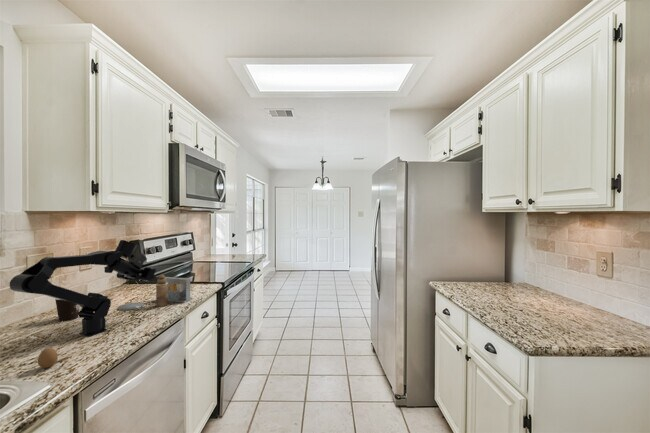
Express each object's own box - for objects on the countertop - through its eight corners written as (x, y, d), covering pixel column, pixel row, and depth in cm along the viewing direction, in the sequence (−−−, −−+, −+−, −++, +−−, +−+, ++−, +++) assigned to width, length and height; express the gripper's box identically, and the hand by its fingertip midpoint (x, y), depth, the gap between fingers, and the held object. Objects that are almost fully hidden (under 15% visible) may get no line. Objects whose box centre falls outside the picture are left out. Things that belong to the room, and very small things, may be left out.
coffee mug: (65, 323, 123) (65, 300, 122) (50, 321, 124) (49, 298, 124) (92, 313, 134) (92, 292, 134) (78, 312, 136) (77, 291, 136)
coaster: (127, 311, 137) (127, 310, 137) (112, 308, 141) (112, 307, 141) (149, 305, 147) (149, 303, 147) (134, 302, 151) (134, 301, 151)
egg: (42, 372, 85) (42, 352, 85) (34, 369, 87) (34, 349, 86) (61, 365, 89) (60, 346, 89) (52, 362, 91) (52, 343, 91)
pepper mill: (161, 307, 143) (160, 276, 143) (153, 306, 145) (153, 275, 145) (170, 304, 148) (170, 274, 147) (163, 303, 150) (163, 273, 150)
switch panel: (184, 302, 150) (184, 280, 150) (159, 300, 154) (159, 278, 154) (192, 299, 156) (192, 277, 156) (168, 297, 160) (168, 276, 160)
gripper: (148, 251, 126) (172, 264, 139) (117, 249, 132) (142, 262, 144) (136, 274, 121) (162, 286, 134) (103, 272, 126) (131, 284, 139)
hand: (149, 279), depth 138 cm, fingers open, 9 cm apart
